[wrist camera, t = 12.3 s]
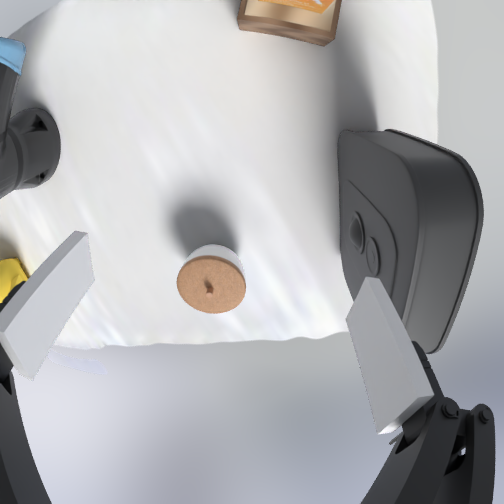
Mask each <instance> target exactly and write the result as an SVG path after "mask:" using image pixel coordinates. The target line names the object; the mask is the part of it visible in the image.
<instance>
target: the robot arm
mask: <svg viewBox="0 0 504 504" xmlns="http://www.w3.org/2000/svg"><path fill="white" fill-rule="evenodd" d="M25 54H26V47H25V45H24V44H23V43H22V42H20V41H16V40H12V39H8V38H3V37H0V199H1V198H2V197H4V196H5V195H7V194H8V193H10V192H11V191H13V190H18V189H27V188H34V187H37V186H39V185H41V184H43V183H44V182H46V181H47V180H49V179H50V178H51V176H52V175H53V174H54V172H55V170H56V168H57V165H58V162H59V158H60V136H59V132H58V129H57V126H56V124H55V122H54V120H53V119H52V117H51V116H50V115H49V114H48V113H47V112H46V111H44V110H42V109H39V108H31V109H27V110H23V111H21V112H19V113H17V114H16V115H15V116H13V117H12V118H11V119H10V114H11V109H12V104H13V100H14V95H15V91H16V88H17V84H18V80H19V77H20V76H21V73H22V72H21V68H22V65H23V61H24V57H25ZM9 119H10V120H9ZM94 280H95V279H94V273H93V268H92V261H91V255H90V248H89V240H88V233H85V232H79V231H74V232H73V233H72V234H71V235H70V236H69V237H68V238H67V239H66V240H65V241H64V242H63V243H62V244H61V245H60V246H59V247H58V248H57V249H56V250H55V251H54V252H53V253H52V254H51V255H50V256H49V257H48V258H47V259H46V260H45V261H44V262H43V263H42V264H41V266H40V267H39V268H38V269H37V270H36V271H35V272H34V273H33V274H32V275H31V276H30V278H29V279H28V280H27V281H22V282H21V283H19V284H17V285H16V286H14V288H13V289H12V290H11V291H10V292H9V293H8V296H6V297H5V298H4V299H3V301H2V303H0V504H52V503H51V501H50V499H49V497H48V494H47V492H46V490H45V488H44V485H43V483H42V480H41V478H40V475H39V473H38V470H37V467H36V465H35V462H34V459H33V456H32V453H31V450H30V447H29V444H28V440H27V437H26V433H25V430H24V426H23V422H22V418H21V414H20V409H19V405H18V400H17V395H16V389H15V384H14V377H13V374H12V372H11V369H12V367H13V366H14V367H15V368H16V370H17V371H18V373H19V374H20V375H21V376H23V377H25V378H27V379H30V380H32V381H33V380H34V378H35V376H36V374H37V373H38V371H39V369H40V367H41V365H42V363H43V362H44V360H45V358H46V356H47V354H48V353H49V351H50V349H51V347H52V346H53V344H54V342H55V341H56V339H57V337H58V335H59V334H60V332H61V331H62V329H63V327H64V326H65V324H66V322H67V321H68V319H69V318H70V316H71V315H72V313H73V311H74V310H75V308H76V307H77V305H78V304H79V302H80V301H81V299H82V298H83V296H84V295H85V293H86V292H87V290H88V289H89V288H90V286H91V285H92V283H93V282H94ZM346 322H347V325H348V328H349V332H350V335H351V338H352V341H353V345H354V348H355V351H356V355H357V358H358V362H359V365H360V369H361V372H362V376H363V379H364V383H365V387H366V391H367V394H368V398H369V402H370V406H371V410H372V414H373V418H374V422H375V426H376V431H377V434H384V433H390V432H394V431H395V430H396V429H397V428H399V427H400V426H401V425H402V428H403V432H401V433H400V434H399V435H398V436H396V437H395V438H394V439H392V440H391V442H390V443H389V444H390V445H391V444H393V443H394V442H395V441H396V443H395V445H394V447H393V449H392V451H391V453H390V455H389V457H388V458H387V460H386V462H385V464H384V466H383V468H382V470H381V471H380V473H379V475H378V477H377V478H376V480H375V481H374V483H373V485H372V486H371V488H370V490H369V492H368V493H367V494H366V496H365V498H364V499H363V501H362V502H361V504H492V500H493V490H494V477H495V476H494V475H495V426H494V417H493V413H492V411H491V409H490V408H489V407H488V406H486V405H485V404H478V405H477V406H475V407H474V408H473V409H472V410H471V411H470V410H464V409H460V408H459V406H458V405H457V403H456V402H455V401H454V400H452V399H450V398H448V397H444V395H443V393H442V391H441V388H440V386H439V384H438V381H437V379H436V377H435V374H434V372H433V370H432V369H431V365H430V363H429V361H427V360H428V359H427V357H426V354H425V352H424V350H423V349H422V348H421V346H420V345H419V344H418V343H417V342H416V341H411V340H410V338H409V336H408V333H407V331H406V329H405V327H404V325H403V323H402V321H401V319H400V317H399V315H398V313H397V311H396V309H395V307H394V305H393V303H392V301H391V299H390V298H389V296H388V294H387V292H386V290H385V288H384V286H383V284H382V283H381V281H380V279H379V278H372V277H365V280H364V282H363V284H362V286H361V288H360V291H359V293H358V295H357V297H356V299H355V301H354V303H353V305H352V307H351V309H350V311H349V313H348V315H347V317H346ZM465 447H466V452H465V454H464V455H461V450H462V449H464V448H465Z"/></svg>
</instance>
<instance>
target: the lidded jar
mask: <svg viewBox="0 0 504 504" xmlns="http://www.w3.org/2000/svg"><path fill="white" fill-rule="evenodd" d="M177 288H178V291H179V293H180V295H181V297H182V298H183V300H184V301H185V302H186V303H187V304H189V305H190V306H191V307H193V308H195V309H197V310H199V311H202V312H206V313H223V312H227V311H230V310H232V309H234V308H235V307H237V306H238V305H239V304H240V303H241V301H242V300H243V298H244V296H245V291H246V283H245V271H244V267H243V264H242V262H241V260H240V259H239V257H238V256H237V255H236V254H235V253H234V252H233V251H232V250H230V249H229V248H227V247H224V246H221V245H214V244H212V245H205V246H202V247H200V248H198V249H196V250H195V251H193V252H192V253H191V254H190V255H189V256H188V258H187V259H186V261H185V262H184V264H183V266H182V268H181V270H180V271H179V274H178V277H177Z"/></svg>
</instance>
